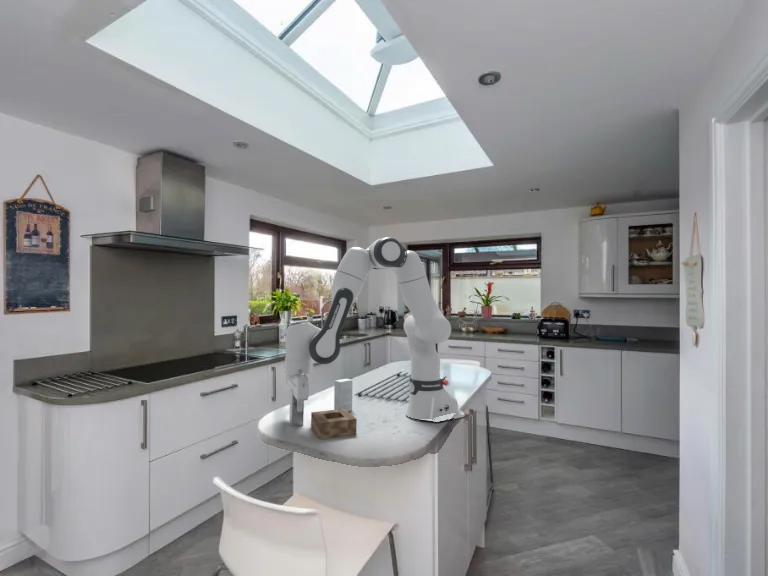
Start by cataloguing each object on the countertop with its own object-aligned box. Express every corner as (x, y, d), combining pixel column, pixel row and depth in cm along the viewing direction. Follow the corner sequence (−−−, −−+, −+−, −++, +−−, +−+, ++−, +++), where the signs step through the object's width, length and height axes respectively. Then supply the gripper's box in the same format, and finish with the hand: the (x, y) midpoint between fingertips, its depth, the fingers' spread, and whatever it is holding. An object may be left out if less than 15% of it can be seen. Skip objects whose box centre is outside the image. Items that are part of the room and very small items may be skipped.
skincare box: (345, 408, 150) (346, 378, 151) (352, 410, 147) (353, 379, 148) (333, 411, 146) (334, 380, 147) (340, 413, 143) (340, 382, 144)
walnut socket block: (344, 422, 132) (344, 408, 133) (356, 434, 122) (356, 418, 122) (311, 427, 127) (311, 412, 128) (320, 439, 117) (320, 423, 117)
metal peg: (300, 421, 133) (301, 387, 133) (303, 425, 129) (304, 390, 130) (289, 422, 131) (290, 388, 132) (291, 426, 128) (292, 391, 128)
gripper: (313, 372, 123) (312, 415, 122) (300, 362, 141) (299, 399, 141) (294, 373, 120) (293, 417, 120) (283, 363, 139) (282, 400, 138)
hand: (296, 407), depth 131 cm, fingers open, 8 cm apart
